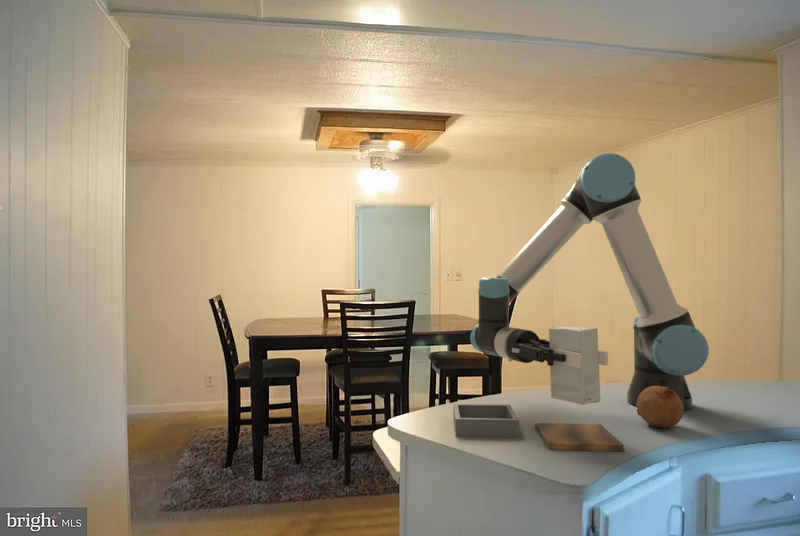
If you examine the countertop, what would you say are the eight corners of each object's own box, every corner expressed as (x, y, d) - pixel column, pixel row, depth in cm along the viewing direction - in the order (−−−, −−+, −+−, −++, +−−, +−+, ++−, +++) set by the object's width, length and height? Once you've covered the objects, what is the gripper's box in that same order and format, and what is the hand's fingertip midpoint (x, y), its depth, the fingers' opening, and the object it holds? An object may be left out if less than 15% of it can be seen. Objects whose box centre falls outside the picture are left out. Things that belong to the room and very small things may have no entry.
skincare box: (600, 402, 106) (601, 328, 107) (581, 406, 103) (582, 329, 103) (566, 394, 113) (567, 324, 114) (547, 397, 110) (548, 325, 110)
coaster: (600, 429, 114) (600, 424, 115) (623, 451, 101) (623, 444, 101) (535, 428, 115) (535, 422, 115) (548, 449, 101) (548, 443, 101)
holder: (510, 419, 122) (510, 404, 122) (518, 437, 109) (518, 420, 109) (453, 418, 123) (453, 403, 123) (455, 435, 110) (455, 419, 110)
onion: (674, 444, 114) (689, 408, 110) (629, 427, 118) (641, 391, 113) (676, 418, 122) (690, 383, 117) (633, 403, 125) (645, 369, 121)
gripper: (549, 358, 129) (628, 375, 108) (483, 363, 120) (555, 382, 99) (549, 327, 129) (628, 338, 108) (484, 330, 120) (555, 342, 99)
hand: (593, 359), depth 104 cm, fingers closed on skincare box, 6 cm apart
